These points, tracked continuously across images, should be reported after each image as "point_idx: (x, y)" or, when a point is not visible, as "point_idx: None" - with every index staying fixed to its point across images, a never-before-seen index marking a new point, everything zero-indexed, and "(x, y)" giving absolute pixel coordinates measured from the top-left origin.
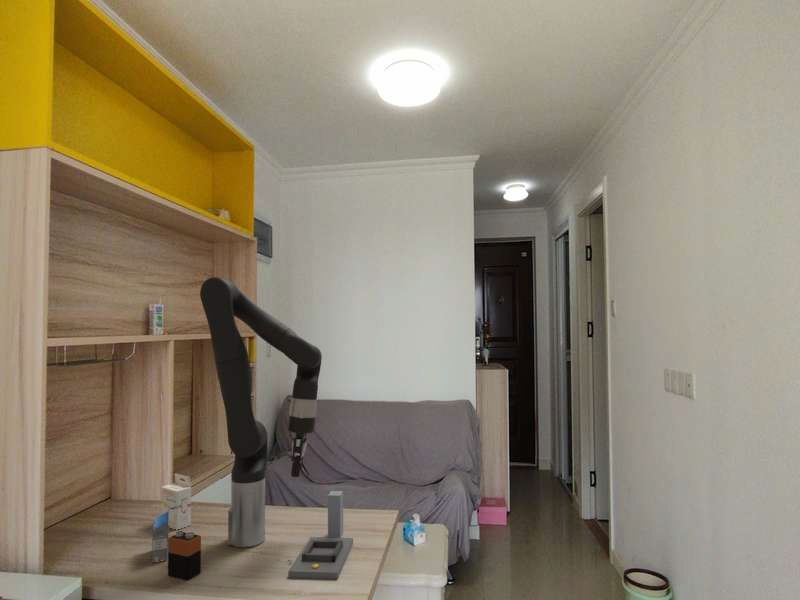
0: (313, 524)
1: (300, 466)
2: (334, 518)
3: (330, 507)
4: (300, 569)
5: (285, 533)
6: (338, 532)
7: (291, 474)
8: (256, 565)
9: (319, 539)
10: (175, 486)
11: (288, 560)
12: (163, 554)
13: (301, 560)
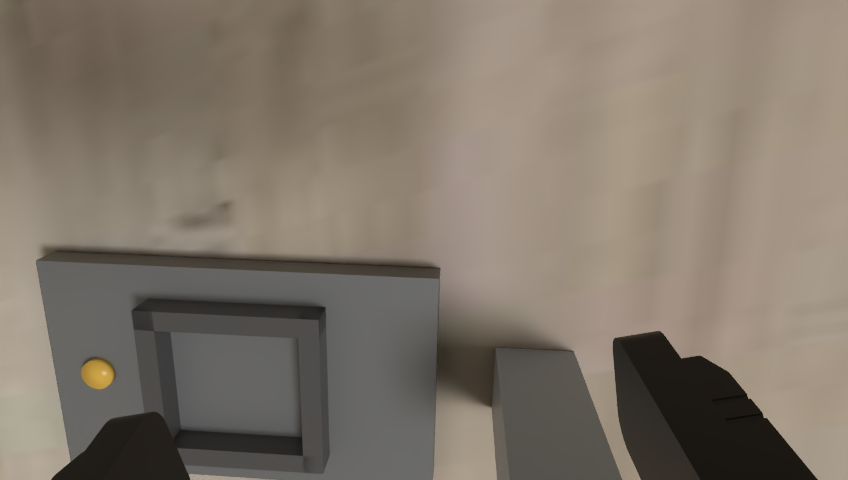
0: (717, 226)
1: (636, 456)
2: (498, 445)
3: (505, 469)
4: (65, 311)
5: (577, 82)
6: (494, 417)
7: (103, 432)
8: (142, 50)
9: (406, 332)
10: None
11: (221, 205)
12: None
13: (151, 295)
